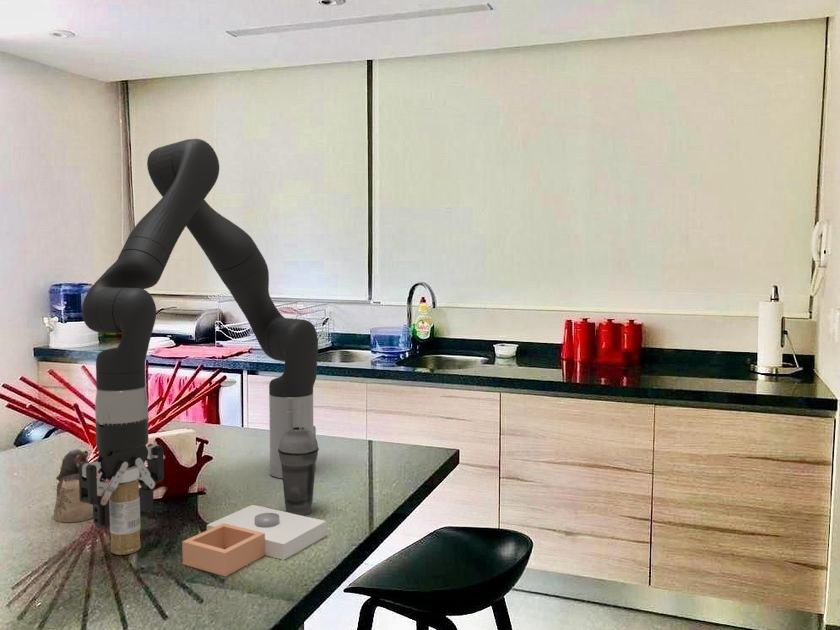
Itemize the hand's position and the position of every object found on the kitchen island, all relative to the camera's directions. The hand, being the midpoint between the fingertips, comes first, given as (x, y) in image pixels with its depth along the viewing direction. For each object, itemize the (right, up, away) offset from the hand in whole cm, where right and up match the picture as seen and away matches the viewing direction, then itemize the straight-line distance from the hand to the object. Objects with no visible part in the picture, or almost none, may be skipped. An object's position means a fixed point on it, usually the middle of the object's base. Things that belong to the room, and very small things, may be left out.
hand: (124, 518), depth 112 cm
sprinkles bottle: (0, -5, 0) cm, 5 cm away
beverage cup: (+24, -4, +18) cm, 31 cm away
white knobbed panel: (+19, -5, +2) cm, 20 cm away
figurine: (-15, -4, +15) cm, 22 cm away
